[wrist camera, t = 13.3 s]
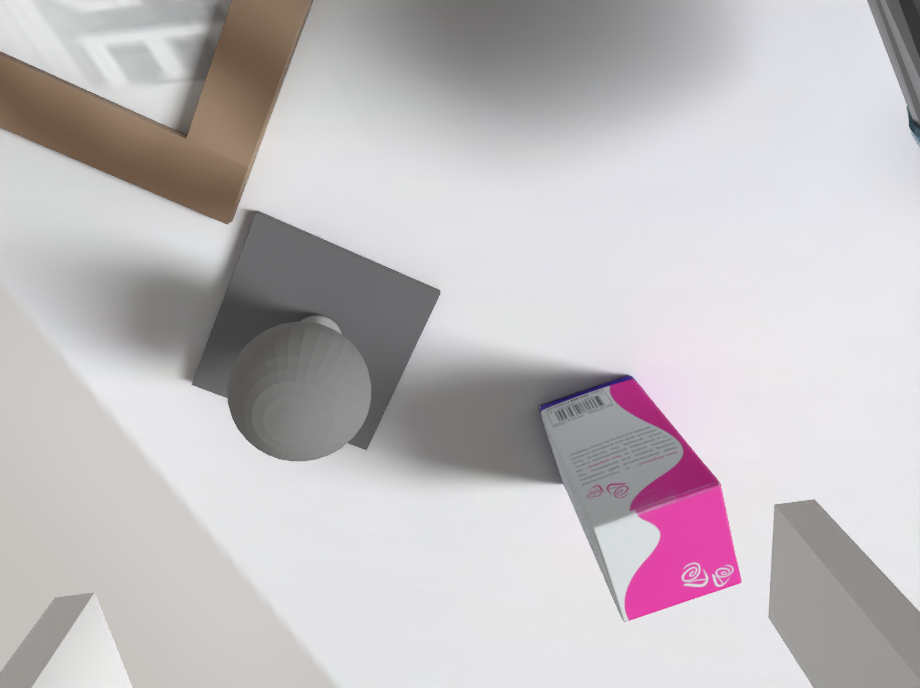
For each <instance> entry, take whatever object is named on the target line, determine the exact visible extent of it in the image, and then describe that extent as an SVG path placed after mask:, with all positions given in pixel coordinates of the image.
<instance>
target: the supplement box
mask: <svg viewBox="0 0 920 688" xmlns="http://www.w3.org/2000/svg"><path fill="white" fill-rule="evenodd" d="M539 411H540V415H541V418H542V421H543V424H544V427H545V430H546V433H547V437H548V440H549V443H550V446H551V449H552V452H553V455H554V458H555V461H556V464H557V467H558V470H559V473H560V476H561V479H562V482H563V485H564V487H565V489H566V491H567V493H568V495H569V498H570V500H571V502H572V504H573V507H574V509H575V511H576V514H577V516H578V518H579V521H580V523H581V525H582V528H583V530H584V532H585V535H586V537H587V539H588V541H589V544H590V546H591V548H592V551H593V553H594V555H595V558H596V560H597V562H598V565H599V567H600V569H601V572H602V574H603V576H604V579H605V581H606V583H607V586H608V588H609V590H610V593H611V595H612V597H613V600H614V602H615V604H616V607H617V609H618V611H619V613H620V615H621V617H622V619H623V621H624V622H627V621H630V620H632V619H635V618H638V617H641V616H644V615H647V614H650V613H653V612H656V611H659V610H662V609H665V608H668V607H671V606H674V605H677V604H680V603H683V602H686V601H689V600H691V599H694V598H697V597H701V596H703V595H706V594H709V593H713V592H715V591H719V590H722V589H724V588H727V587H730V586H733V585H736V584H739V583H741V582H742V581H741V576H740V572H739V567H738V563H737V559H736V556H735V551H734V546H733V541H732V536H731V532H730V527H729V522H728V517H727V512H726V508H725V503H724V498H723V493H722V489H721V484H720V482H719V481H718V480H717V478H716V477H715V476H714V475H713V473H712V472H711V471H710V470H709V469H708V467H707V466H706V465H705V464H704V463H703V462H702V461H701V459H700V458H699V457H698V456H697V455H696V453H695V452H694V451H693V450H692V448H691V447H690V446H689V445H688V443H687V442H686V441H685V440H684V439H683V437H682V436H681V435H680V434H679V433H678V431H677V430H676V429H675V428H674V426H673V425H672V424H671V423H670V422H669V420H668V419H667V418H666V417H665V416H664V414H663V413H662V412H661V411H660V409H659V408H658V407H657V406H656V405H655V404H654V402H653V401H652V400H651V399H650V397H649V396H648V395H647V394H646V392H645V391H644V390H643V389H642V387H641V386H640V385H639V384H638V383H637V381H636V380H635V379H634V378H633V377H632V376H626V377H623V378H620V379H617V380H614V381H611V382H608V383H605V384H602V385H599V386H596V387H593V388H591V389H587V390H585V391H582V392H579V393H576V394H573V395H570V396H567V397H565V398H562V399H559V400H556V401H553V402H550V403H547V404H544V405H541V406H539Z"/></svg>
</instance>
